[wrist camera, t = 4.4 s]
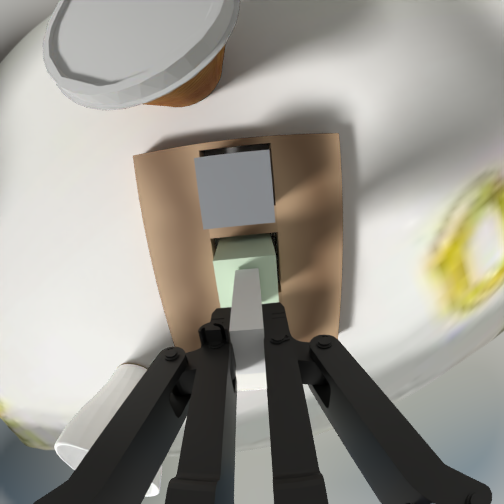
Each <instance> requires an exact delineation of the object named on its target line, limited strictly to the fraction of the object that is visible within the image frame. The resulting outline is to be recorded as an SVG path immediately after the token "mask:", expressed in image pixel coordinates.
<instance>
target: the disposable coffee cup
mask: <svg viewBox="0 0 504 504" xmlns="http://www.w3.org/2000/svg"><path fill="white" fill-rule="evenodd" d="M239 6H240V0H60V1H59V2H58V4H57V6H56V8H55V10H54V12H53V13H52V15H51V17H50V19H49V22H48V24H47V28H46V32H45V36H44V41H43V59H44V63H45V66H46V69H47V72H48V73H49V75H50V76H51V77H52V79H53V80H54V81H55V82H56V85H57V86H58V88H59V89H60V90H61V91H62V93H63V94H64V95H65V96H66V97H67V98H69V99H70V100H72V101H73V102H75V103H77V104H79V105H82V106H84V107H87V108H93V109H99V110H116V109H126V108H129V107H133V106H137V105H140V104H147V105H160V106H170V107H185V106H190V105H192V104H195V103H197V102H199V101H201V100H202V99H204V98H205V97H207V96H208V95H209V94H210V93H211V92H212V91H213V90H214V89H215V87H216V85H217V84H218V82H219V80H220V77H221V73H222V64H223V57H224V50H225V44H226V42H227V40H228V38H229V36H230V34H231V32H232V30H233V28H234V26H235V24H236V22H237V18H238V13H239Z"/></svg>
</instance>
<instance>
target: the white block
mask: <svg viewBox="0 0 504 504" xmlns="http://www.w3.org/2000/svg"><path fill="white" fill-rule="evenodd" d="M236 379H237V391H250V390H263V389H267V382H266V373H254V374H238V375H237V372H236Z"/></svg>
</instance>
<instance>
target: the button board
mask: <svg viewBox="0 0 504 504" xmlns="http://www.w3.org/2000/svg"><path fill="white" fill-rule="evenodd" d="M258 144H269V152H270V163H271V174H272V186H273V198H274V211H275V223H264V224H253V225H243V226H233V227H223V228H214V229H204V230H203V223H202V216H201V209H200V202H199V195H198V187H197V179H196V171H195V163H194V158H198V157H204V153H203V151H205V150H212V149H220V148H228V147H237V146H247V145H258ZM133 160H134V168H135V175H136V182H137V188H138V195H139V201H140V206H141V212H142V218H143V223H144V228H145V233H146V238H147V243H148V247H149V252H150V257H151V261H152V265H153V270H154V274H155V278H156V282H157V286H158V290H159V294H160V297H161V301H162V305H163V309H164V312H165V316H166V319H167V323H168V326H169V329H170V333H171V336H172V339H173V343H174V346H175V347H179V348H182V349H183V350H184V351H185V353H187V352H191V351H195V350H197V349H199V348H201V341H200V337H199V333H198V330H199V328H200V327H201V326H202V325H204V324H206V323H209V322H210V320H211V315H212V313H213V312H214V311H215V309H216V308H221V307H220V302H219V296H218V290H217V284H216V278H215V272H214V265H213V259H214V255H215V252H216V246H215V239H214V238H221V237H231V236H241V235H252V234H262V233H273V232H276V241H277V255H278V270H279V281H278V295H279V302H280V303H281V304H282V305H283V306H284V307H285V312H286V317H287V321H288V326H289V330H290V334H291V336H292V337H293V338H294V339H296V340H298V341H302V342H310V340H311V339H312V338H313V337H316V336H318V335H323V334H324V335H331V336H334V337H335V338H337V339H338V330H339V317H340V303H341V284H342V255H343V203H342V173H341V155H340V141H339V133H324V134H292V135H275V136H261V137H250V138H240V139H230V140H222V141H214V142H207V143H200V144H193V145H187V146H181V147H175V148H169V149H164V150H158V151H153V152H148V153H143V154H139V155H134V156H133Z"/></svg>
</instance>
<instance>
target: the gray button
mask: <svg viewBox="0 0 504 504" xmlns="http://www.w3.org/2000/svg"><path fill="white" fill-rule="evenodd" d="M194 163H195V171H196V179H197V187H198V195H199V202H200V209H201V216H202V223H203V230H204V229H214V228H223V227H233V226H243V225H253V224H264V223H275V211H274V198H273V186H272V174H271V163H270V152H269V150H259V151H248V152H238V153H229V154H220V155H212V156H205V157H198V158H194Z"/></svg>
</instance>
